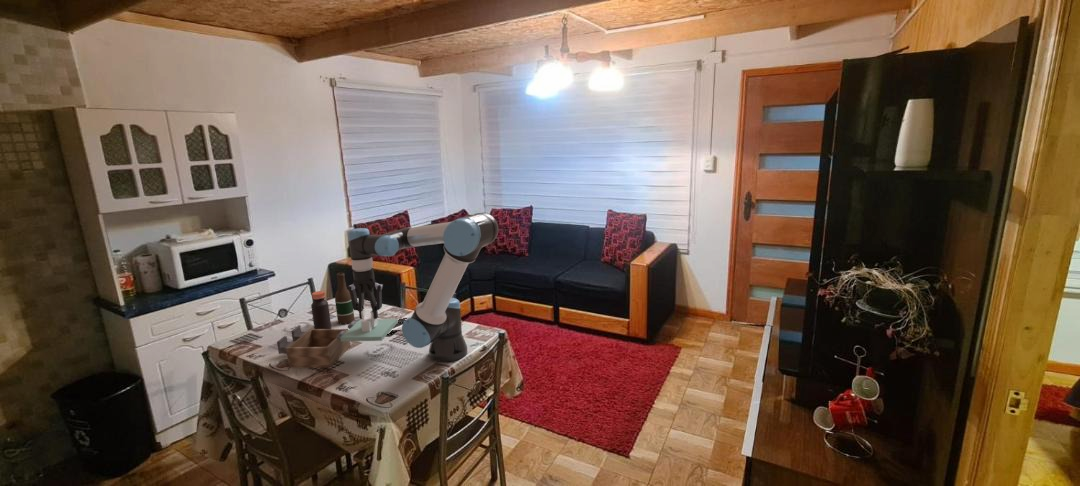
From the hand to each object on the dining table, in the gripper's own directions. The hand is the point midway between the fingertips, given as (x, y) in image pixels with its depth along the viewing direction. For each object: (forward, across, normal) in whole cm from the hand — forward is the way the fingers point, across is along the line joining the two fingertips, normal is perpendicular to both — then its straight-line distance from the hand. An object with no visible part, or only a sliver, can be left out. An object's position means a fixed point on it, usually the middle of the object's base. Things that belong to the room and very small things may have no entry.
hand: (370, 326), depth 184 cm
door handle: (+13, +3, -27) cm, 30 cm away
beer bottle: (+13, +28, -37) cm, 48 cm away
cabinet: (+13, +24, 0) cm, 27 cm away
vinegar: (+13, +31, -21) cm, 39 cm away
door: (+2, +1, 0) cm, 3 cm away
